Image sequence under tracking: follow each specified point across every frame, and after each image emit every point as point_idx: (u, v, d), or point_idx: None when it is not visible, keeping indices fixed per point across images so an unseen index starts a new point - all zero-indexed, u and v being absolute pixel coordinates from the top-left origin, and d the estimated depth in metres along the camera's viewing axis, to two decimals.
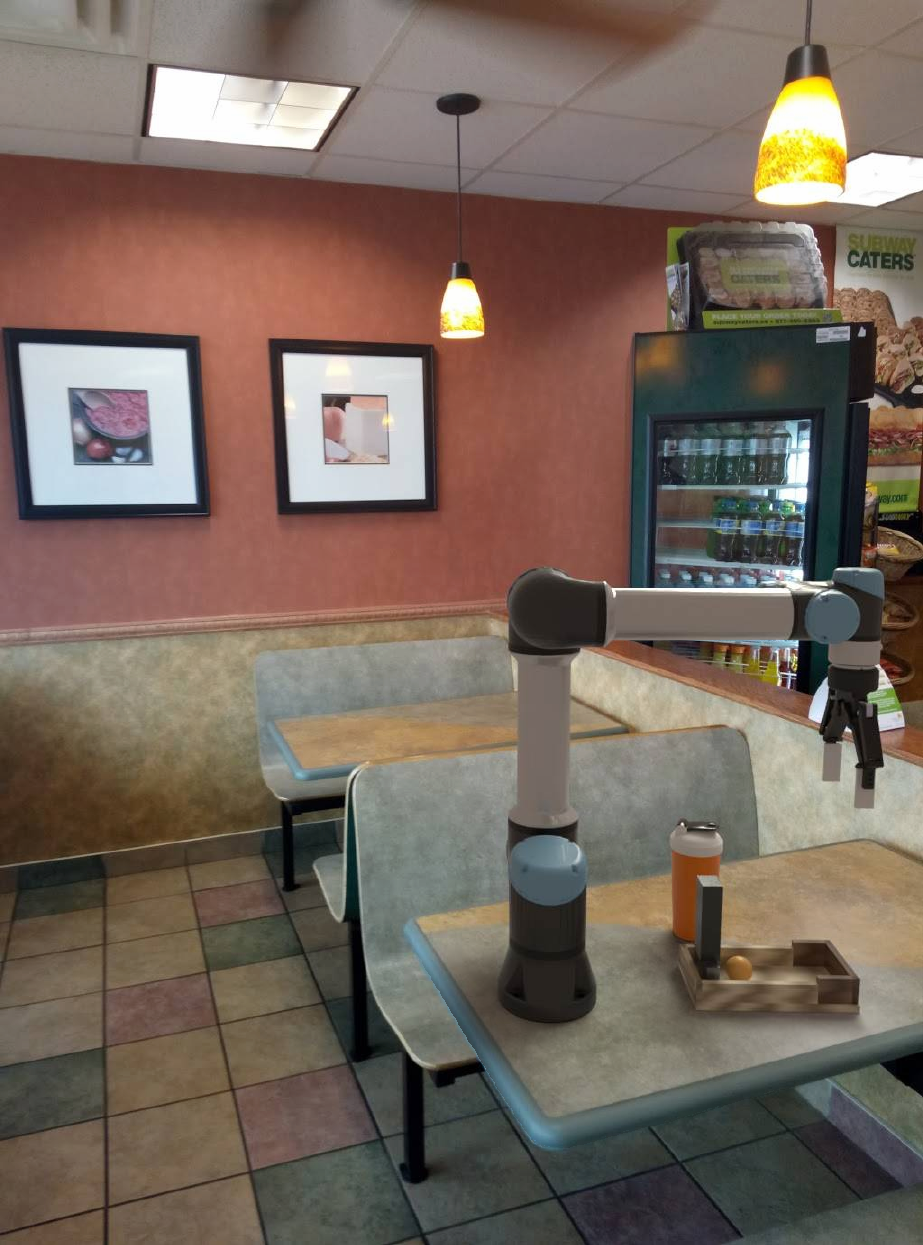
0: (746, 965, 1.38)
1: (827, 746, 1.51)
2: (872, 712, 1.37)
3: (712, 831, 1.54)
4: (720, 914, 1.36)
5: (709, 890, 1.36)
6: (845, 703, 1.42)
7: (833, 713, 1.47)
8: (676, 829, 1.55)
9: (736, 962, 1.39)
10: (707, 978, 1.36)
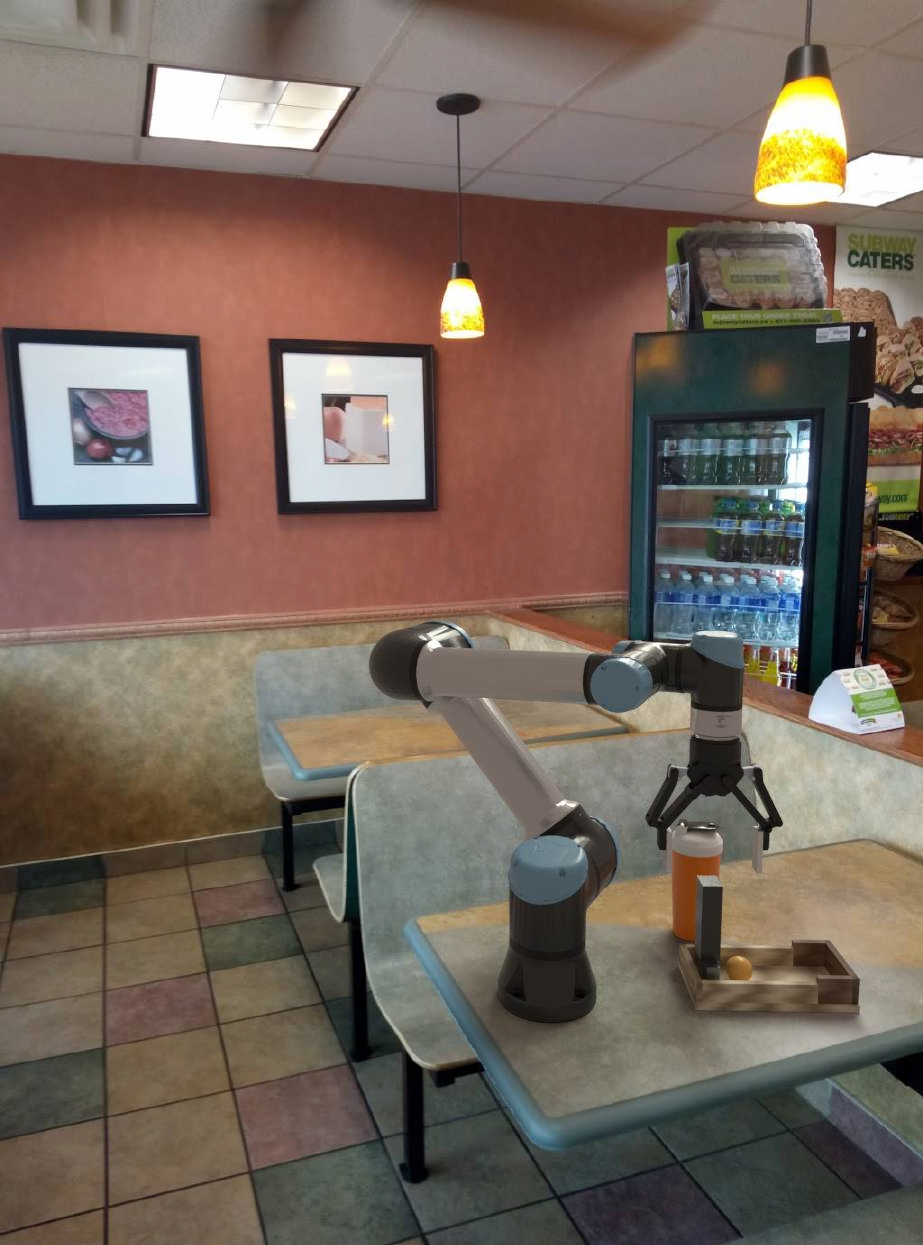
0: (746, 965, 1.38)
1: (753, 829, 1.37)
2: (669, 774, 1.35)
3: (712, 831, 1.54)
4: (720, 914, 1.36)
5: (709, 890, 1.36)
6: None
7: None
8: (676, 829, 1.55)
9: (736, 962, 1.39)
10: (707, 978, 1.36)
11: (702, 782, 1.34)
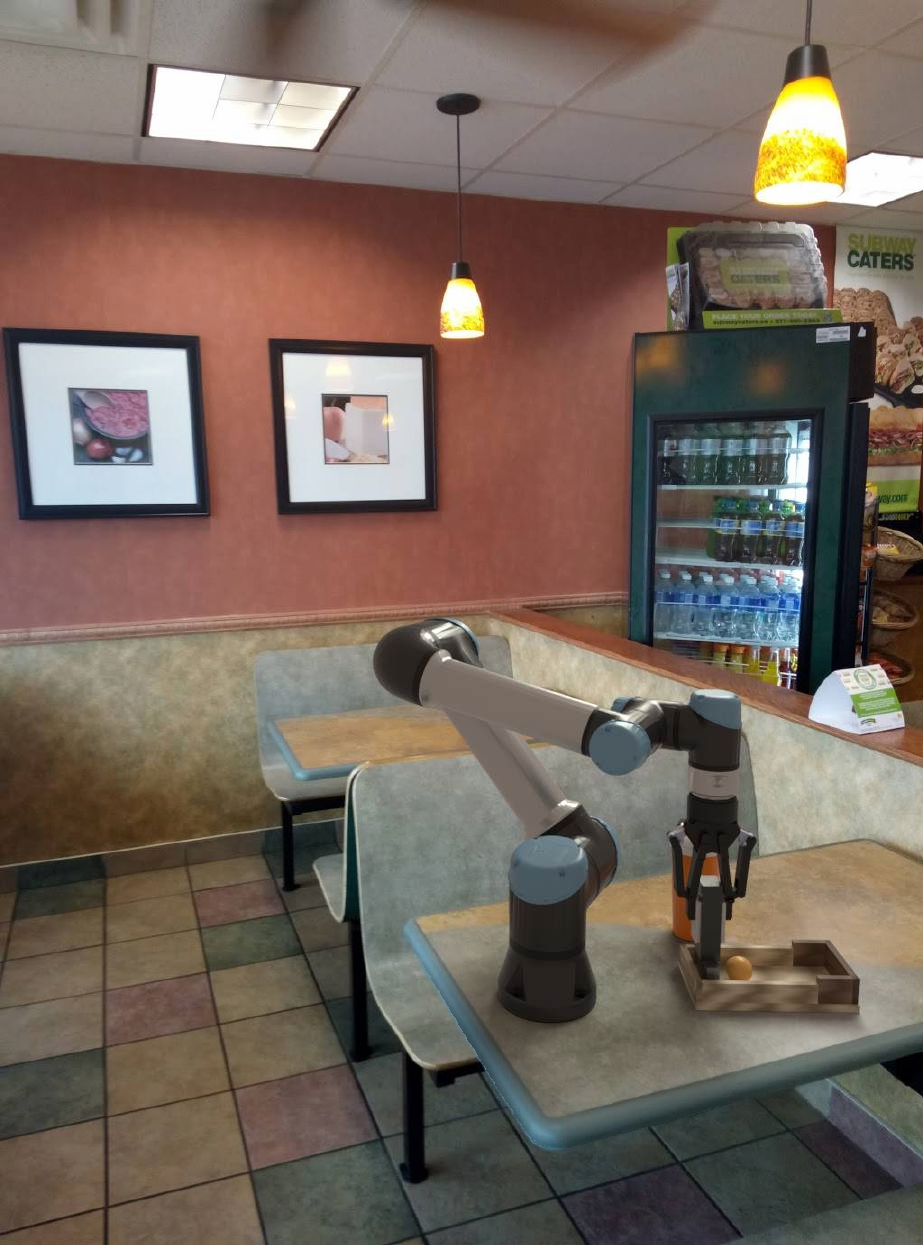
0: (746, 965, 1.38)
1: None
2: None
3: None
4: (720, 914, 1.36)
5: (709, 890, 1.36)
6: None
7: None
8: (676, 829, 1.55)
9: (736, 962, 1.39)
10: (707, 978, 1.36)
11: (701, 842, 1.35)
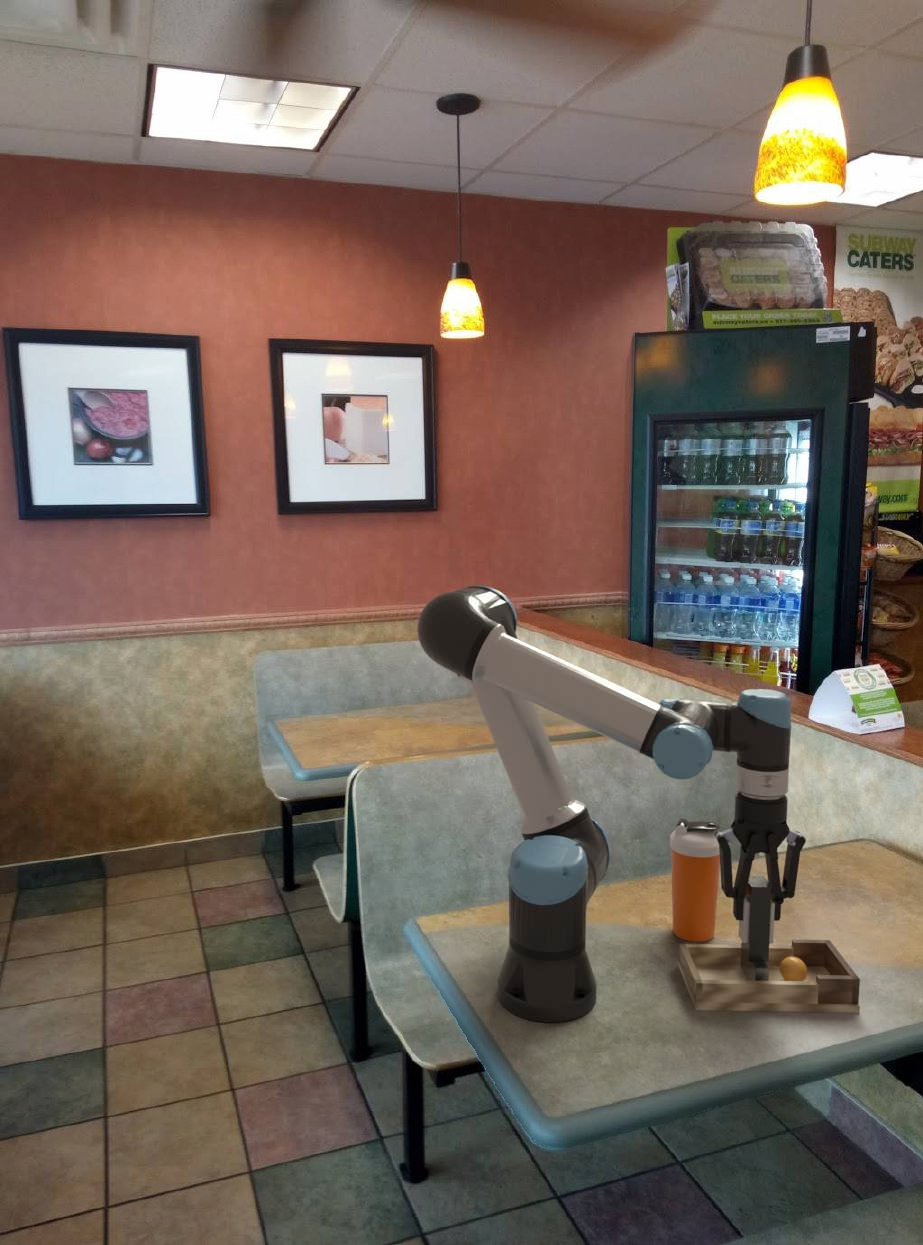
0: (786, 975, 1.38)
1: None
2: (719, 844, 1.37)
3: (712, 831, 1.54)
4: (769, 915, 1.36)
5: (758, 891, 1.36)
6: None
7: None
8: (676, 829, 1.55)
9: None
10: (756, 979, 1.35)
11: (750, 843, 1.35)
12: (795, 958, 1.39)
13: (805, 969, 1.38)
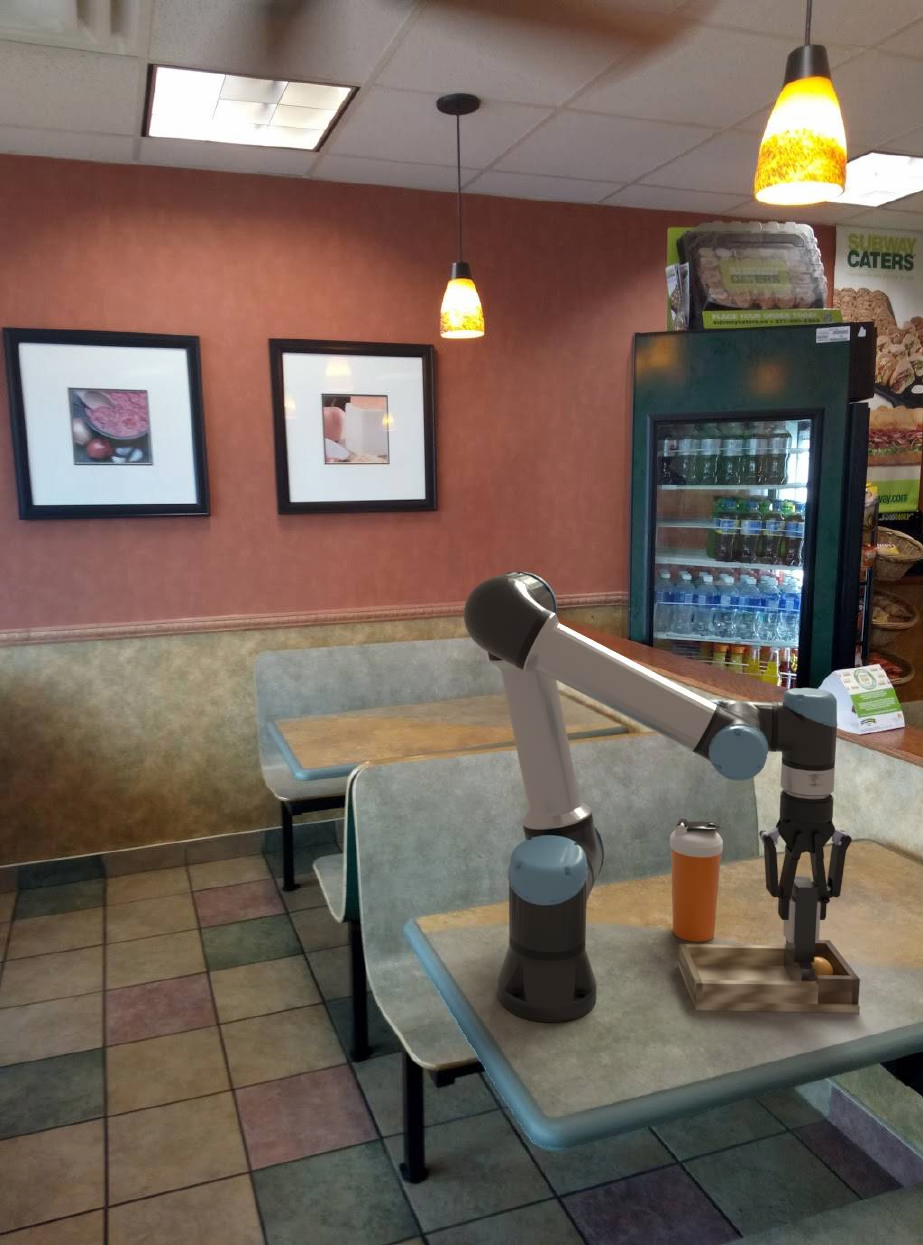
0: (824, 965, 1.38)
1: None
2: (764, 843, 1.36)
3: (712, 831, 1.54)
4: (815, 915, 1.36)
5: (804, 891, 1.35)
6: None
7: None
8: (676, 829, 1.55)
9: (814, 964, 1.38)
10: (802, 979, 1.35)
11: (796, 842, 1.35)
12: None
13: None
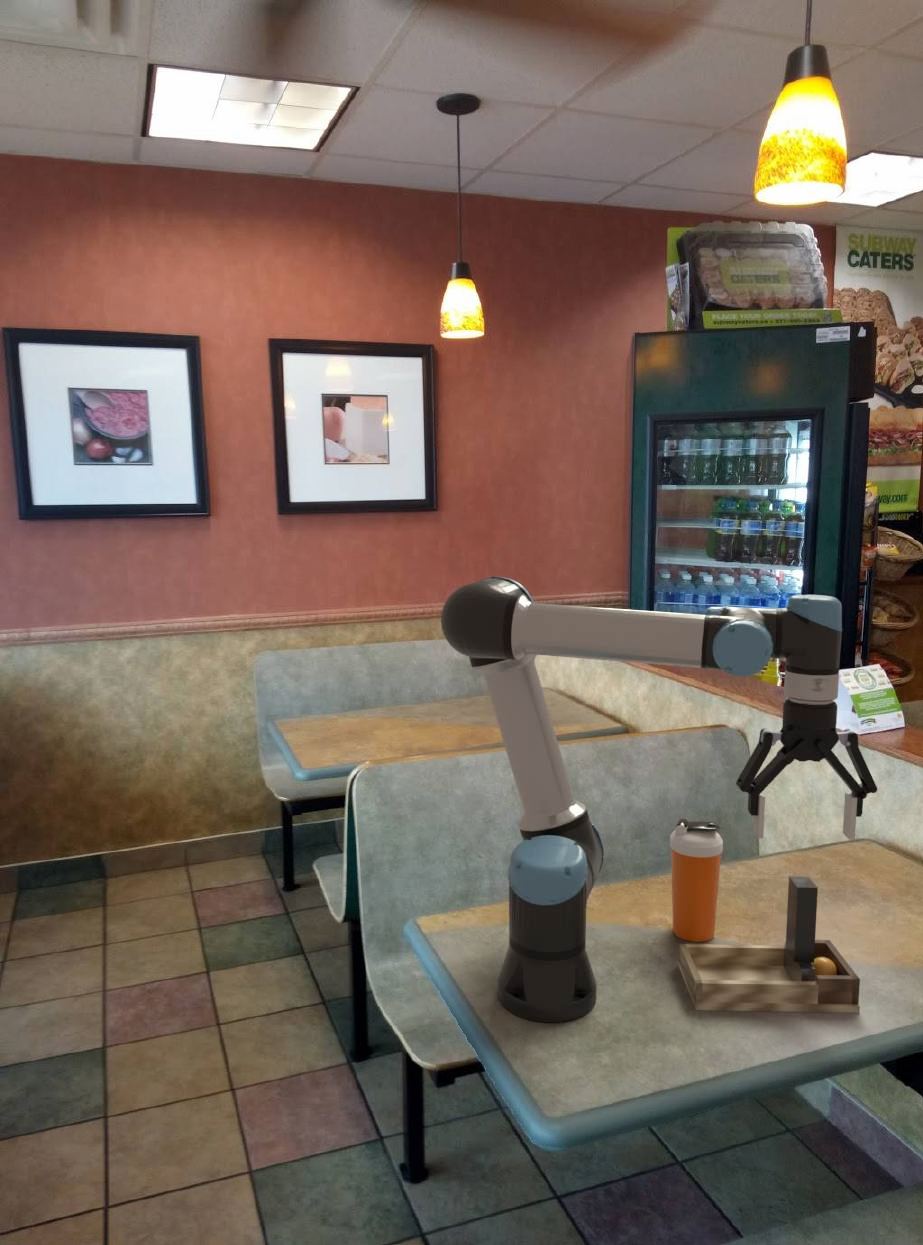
0: (831, 967, 1.38)
1: (845, 795, 1.37)
2: (762, 739, 1.34)
3: (712, 831, 1.54)
4: (814, 915, 1.36)
5: (804, 891, 1.35)
6: None
7: None
8: (676, 829, 1.55)
9: (821, 963, 1.38)
10: (802, 979, 1.35)
11: (797, 747, 1.33)
12: None
13: None
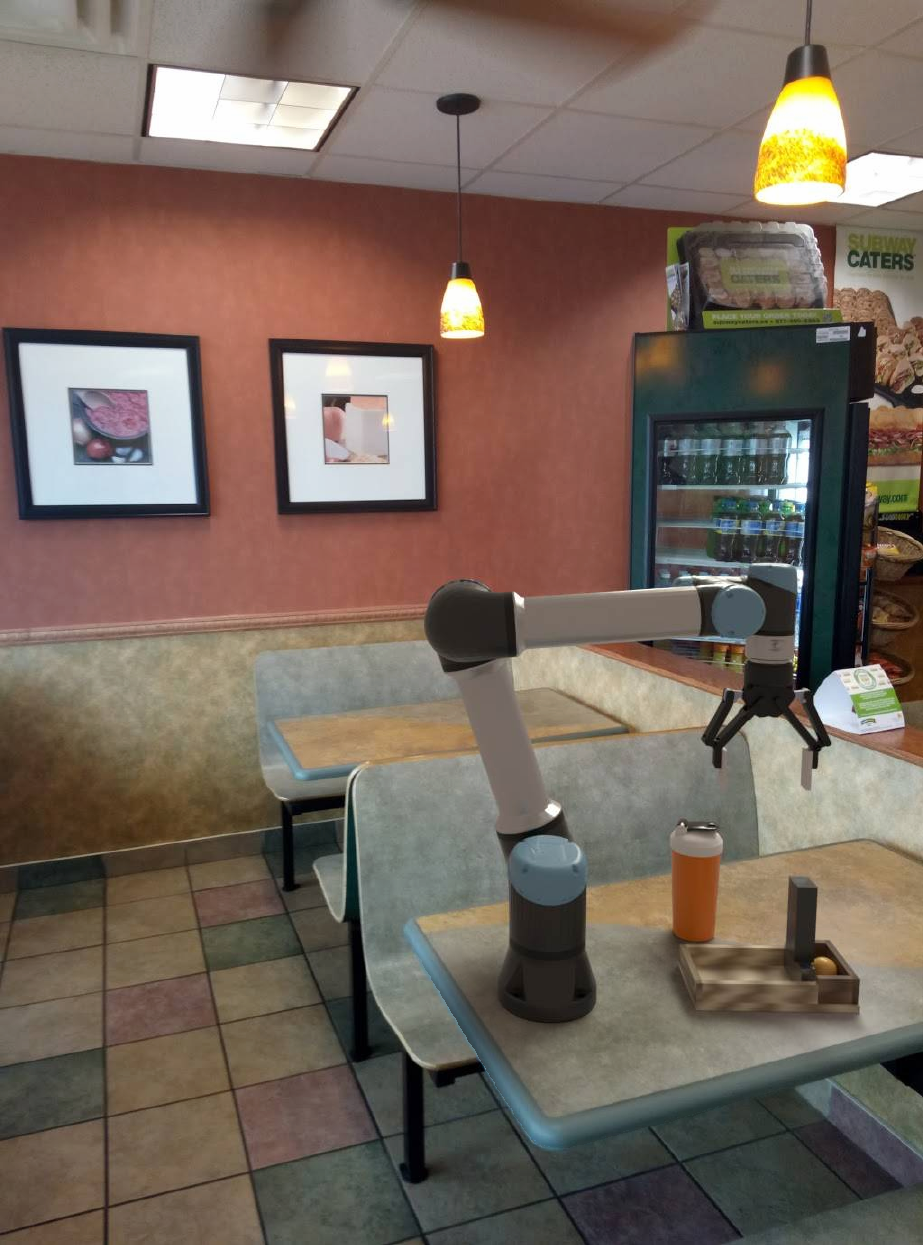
0: (832, 967, 1.38)
1: (803, 749, 1.47)
2: (725, 697, 1.45)
3: (712, 831, 1.54)
4: (814, 915, 1.36)
5: (804, 891, 1.35)
6: None
7: None
8: (676, 829, 1.55)
9: (822, 963, 1.38)
10: (802, 979, 1.35)
11: (756, 703, 1.43)
12: None
13: None
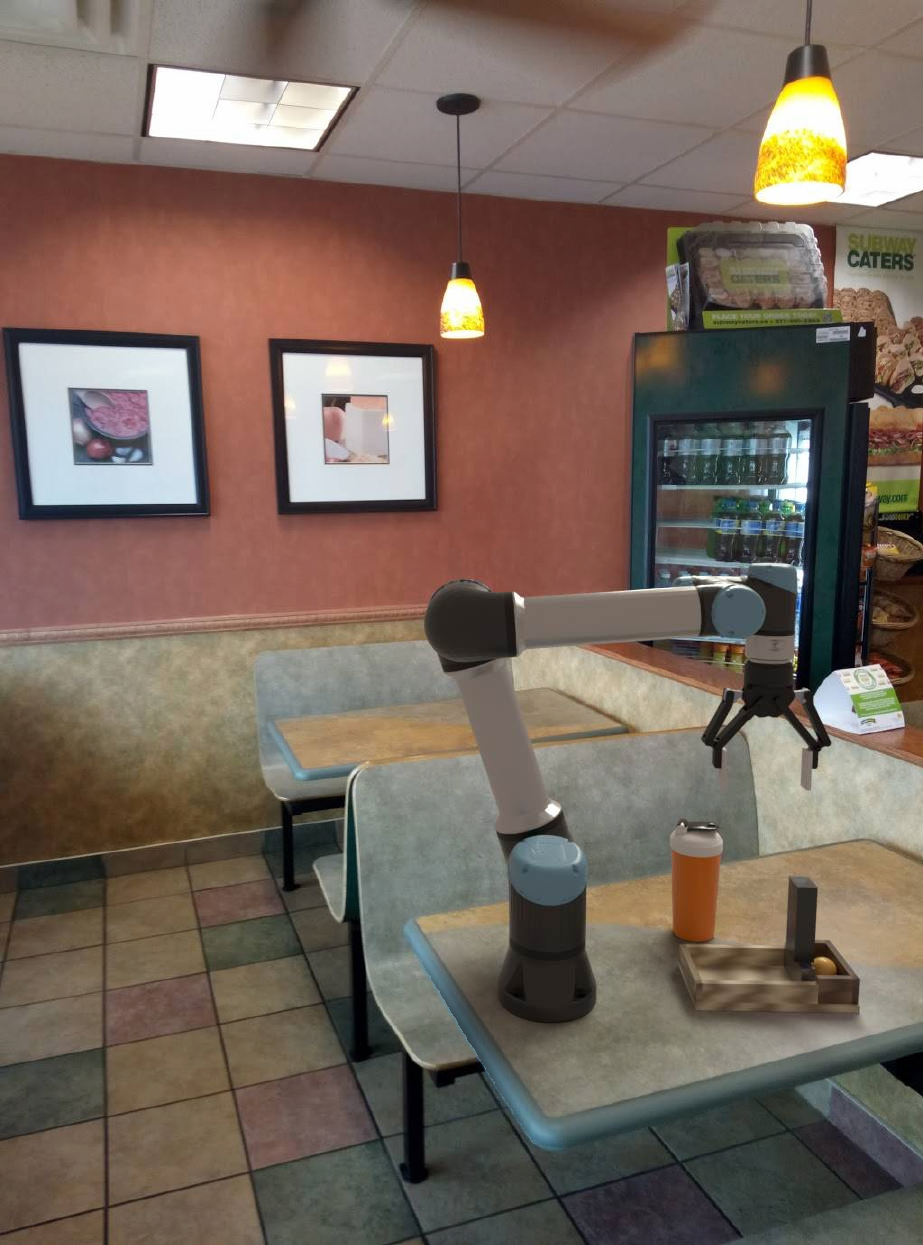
0: (831, 967, 1.38)
1: (803, 749, 1.47)
2: (725, 697, 1.45)
3: (712, 831, 1.54)
4: (814, 915, 1.36)
5: (804, 891, 1.35)
6: None
7: None
8: (676, 829, 1.55)
9: (821, 963, 1.38)
10: (802, 979, 1.35)
11: (756, 703, 1.43)
12: None
13: None
